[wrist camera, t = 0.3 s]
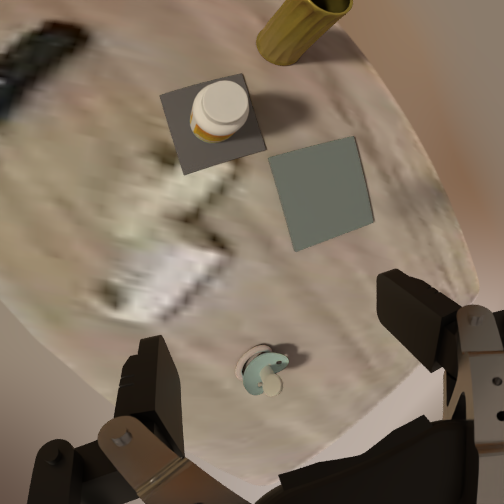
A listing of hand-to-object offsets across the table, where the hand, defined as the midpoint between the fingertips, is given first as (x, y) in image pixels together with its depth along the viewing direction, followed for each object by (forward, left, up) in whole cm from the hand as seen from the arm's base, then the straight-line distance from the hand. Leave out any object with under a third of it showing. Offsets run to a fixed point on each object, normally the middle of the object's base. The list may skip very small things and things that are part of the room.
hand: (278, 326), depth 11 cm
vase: (-19, +15, -27) cm, 37 cm away
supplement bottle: (-11, +4, -27) cm, 30 cm away
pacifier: (+21, 0, -28) cm, 34 cm away
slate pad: (+1, +15, -27) cm, 31 cm away
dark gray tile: (-11, +4, -27) cm, 30 cm away
